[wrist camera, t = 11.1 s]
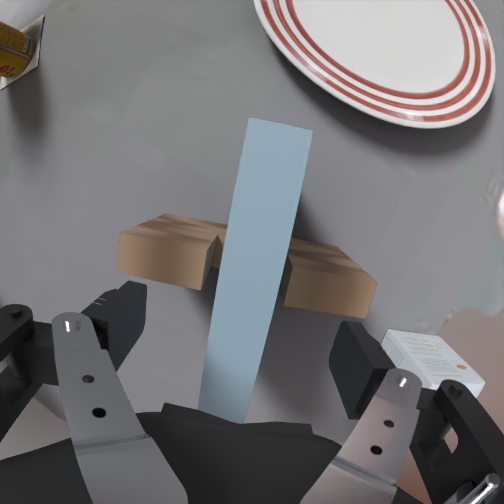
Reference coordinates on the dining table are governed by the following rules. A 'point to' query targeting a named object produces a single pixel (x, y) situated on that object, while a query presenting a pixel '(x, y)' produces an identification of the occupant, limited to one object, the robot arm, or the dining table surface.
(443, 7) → the dinner plate
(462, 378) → the small box
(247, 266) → the light blue square panel
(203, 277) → the walnut block
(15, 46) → the condiment
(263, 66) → the dining table surface
